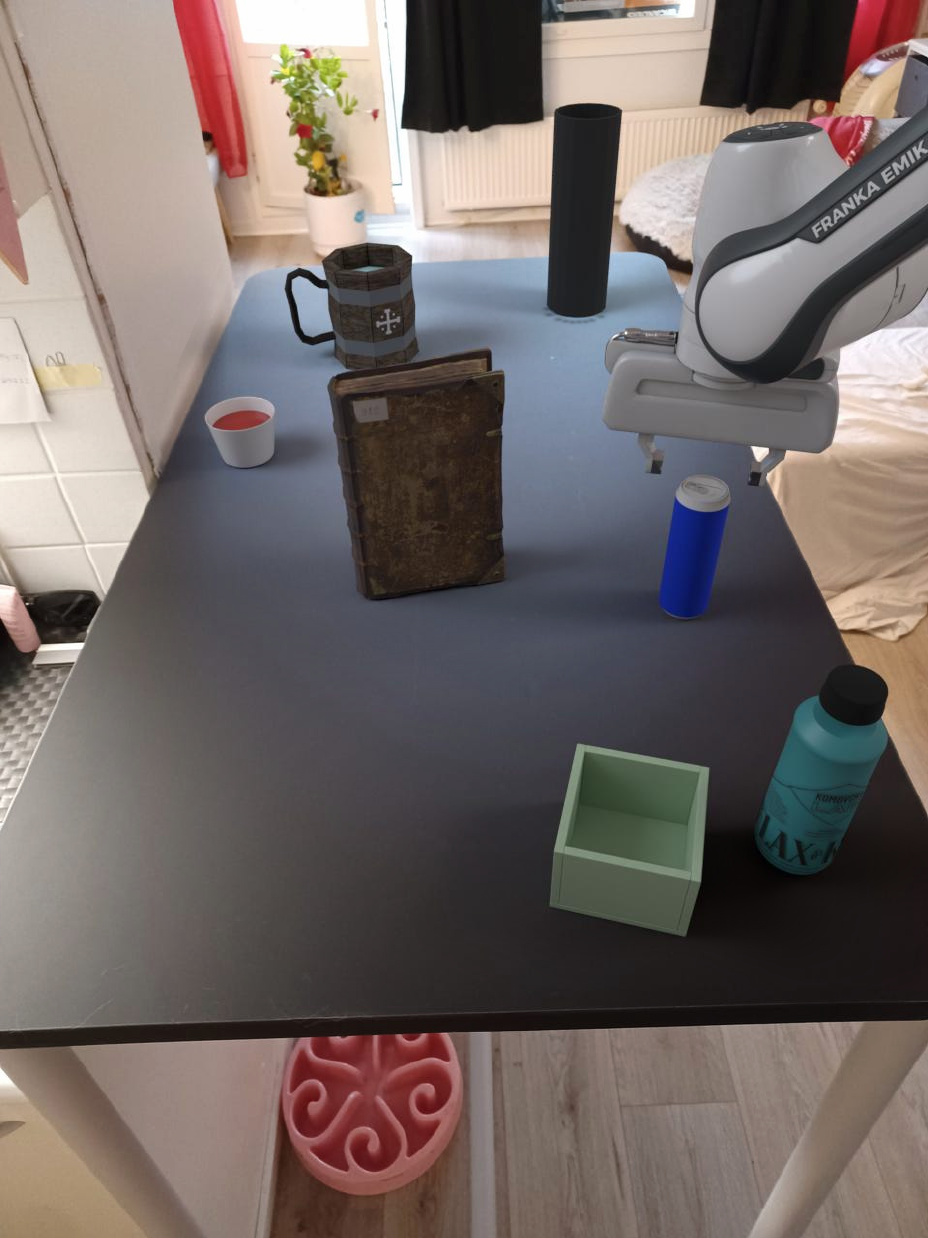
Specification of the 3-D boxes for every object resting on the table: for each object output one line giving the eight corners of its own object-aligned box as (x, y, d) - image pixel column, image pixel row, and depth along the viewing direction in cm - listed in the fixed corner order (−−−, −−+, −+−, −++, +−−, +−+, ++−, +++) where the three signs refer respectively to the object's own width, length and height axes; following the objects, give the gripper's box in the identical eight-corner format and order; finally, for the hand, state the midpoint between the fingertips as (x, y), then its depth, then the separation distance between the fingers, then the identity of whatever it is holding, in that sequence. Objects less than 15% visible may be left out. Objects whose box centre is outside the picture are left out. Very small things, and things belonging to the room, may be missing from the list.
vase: (577, 322, 149) (589, 122, 129) (534, 305, 154) (540, 111, 134) (618, 305, 153) (636, 110, 133) (575, 288, 159) (587, 99, 139)
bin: (695, 824, 74) (709, 767, 69) (685, 937, 67) (701, 882, 62) (571, 800, 76) (577, 743, 71) (549, 907, 69) (553, 851, 64)
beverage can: (714, 600, 95) (739, 482, 85) (696, 628, 92) (721, 509, 82) (669, 584, 97) (688, 467, 87) (650, 611, 94) (668, 493, 84)
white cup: (201, 464, 118) (190, 422, 114) (241, 432, 124) (232, 391, 120) (257, 479, 115) (248, 436, 111) (295, 445, 121) (288, 404, 117)
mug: (416, 332, 147) (410, 239, 137) (420, 369, 137) (414, 272, 127) (298, 339, 146) (283, 247, 136) (293, 377, 136) (277, 280, 126)
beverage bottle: (732, 834, 73) (785, 662, 60) (799, 809, 75) (866, 637, 62) (779, 900, 69) (848, 730, 55) (850, 872, 70) (933, 701, 57)
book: (356, 603, 96) (327, 393, 80) (352, 563, 102) (324, 359, 85) (507, 585, 98) (509, 376, 81) (496, 547, 103) (495, 343, 87)
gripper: (602, 341, 74) (589, 480, 84) (860, 366, 70) (816, 509, 80) (612, 311, 79) (599, 446, 88) (854, 332, 75) (814, 472, 84)
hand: (704, 476), depth 84 cm, fingers open, 8 cm apart
